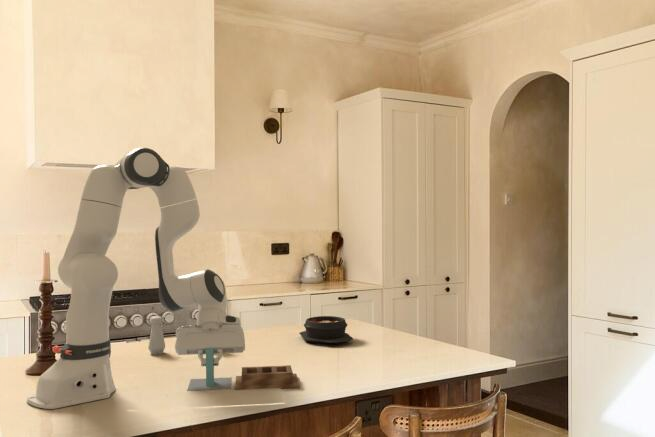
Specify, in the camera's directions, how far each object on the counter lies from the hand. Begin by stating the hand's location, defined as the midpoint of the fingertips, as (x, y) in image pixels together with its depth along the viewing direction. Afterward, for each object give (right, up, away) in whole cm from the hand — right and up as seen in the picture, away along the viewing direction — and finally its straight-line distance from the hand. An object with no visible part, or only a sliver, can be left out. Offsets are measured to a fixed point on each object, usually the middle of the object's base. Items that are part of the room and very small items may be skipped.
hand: (209, 365), depth 175 cm
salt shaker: (-27, -6, +41) cm, 49 cm away
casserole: (+33, -5, +60) cm, 69 cm away
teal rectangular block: (0, -6, +1) cm, 6 cm away
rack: (+16, -6, +2) cm, 17 cm away
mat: (0, -6, +1) cm, 6 cm away
